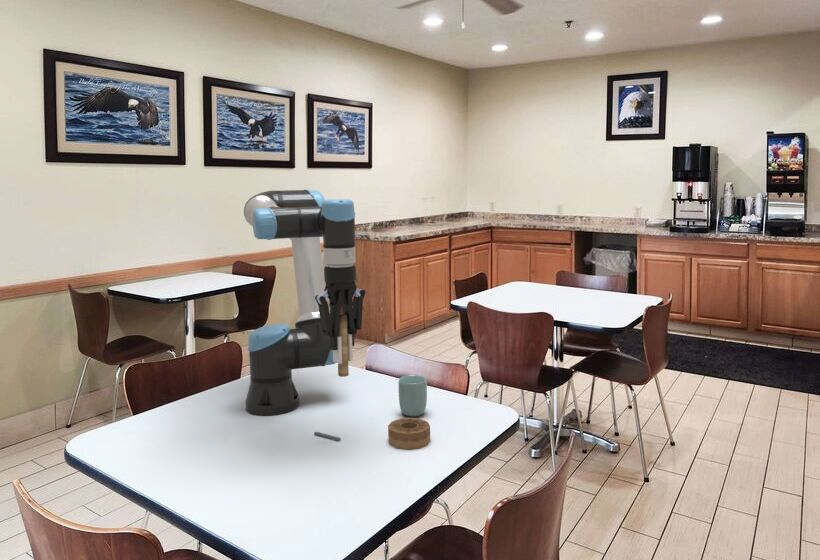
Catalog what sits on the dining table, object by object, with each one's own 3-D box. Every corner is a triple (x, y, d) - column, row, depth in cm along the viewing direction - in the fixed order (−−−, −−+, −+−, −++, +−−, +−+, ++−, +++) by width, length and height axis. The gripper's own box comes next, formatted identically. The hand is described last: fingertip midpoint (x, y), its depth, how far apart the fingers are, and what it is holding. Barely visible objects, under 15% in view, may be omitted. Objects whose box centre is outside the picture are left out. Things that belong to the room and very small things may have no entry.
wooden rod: (336, 375, 152) (334, 314, 150) (344, 372, 154) (342, 313, 151) (342, 377, 150) (340, 316, 148) (350, 375, 152) (348, 314, 150)
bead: (380, 440, 155) (380, 425, 155) (410, 429, 162) (410, 415, 161) (407, 452, 148) (407, 436, 147) (437, 441, 154) (437, 425, 154)
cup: (424, 420, 168) (424, 384, 167) (396, 418, 170) (395, 383, 168) (429, 409, 176) (428, 375, 174) (402, 408, 177) (401, 374, 176)
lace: (314, 434, 160) (314, 432, 160) (316, 433, 160) (316, 431, 160) (338, 441, 155) (338, 439, 155) (340, 440, 156) (340, 437, 156)
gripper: (321, 270, 140) (325, 371, 144) (375, 263, 150) (377, 357, 154) (303, 266, 145) (307, 364, 149) (356, 260, 156) (359, 351, 159)
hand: (342, 360), depth 152 cm, fingers closed on wooden rod, 2 cm apart
